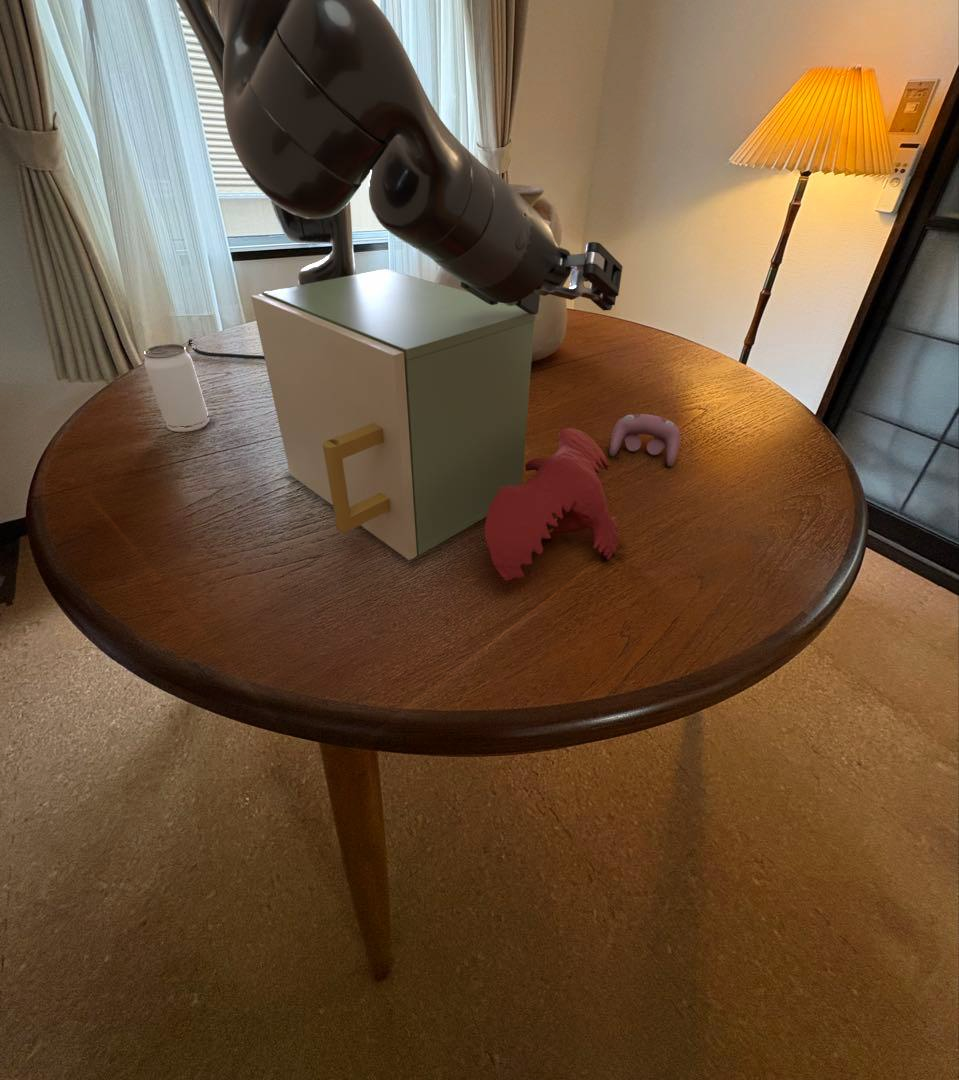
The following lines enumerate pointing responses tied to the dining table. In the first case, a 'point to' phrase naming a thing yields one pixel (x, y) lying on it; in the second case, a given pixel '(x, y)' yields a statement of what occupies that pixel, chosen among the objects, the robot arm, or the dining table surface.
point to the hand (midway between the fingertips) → (571, 302)
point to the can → (176, 387)
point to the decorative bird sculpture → (551, 505)
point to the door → (342, 419)
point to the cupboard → (442, 385)
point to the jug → (551, 307)
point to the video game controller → (648, 425)
